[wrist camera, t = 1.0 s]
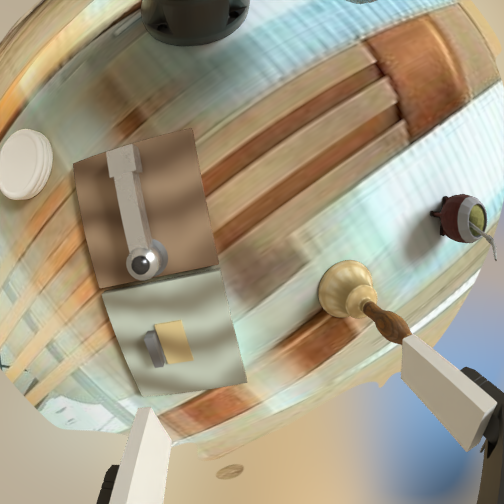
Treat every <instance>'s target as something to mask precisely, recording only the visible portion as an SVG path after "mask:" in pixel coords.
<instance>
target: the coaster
mask: <svg viewBox="0 0 504 504" xmlns="http://www.w3.org/2000/svg"><path fill="white" fill-rule="evenodd" d="M52 163H53V153H52V147H51V144H50V142H49V140H48V139H47V138H46V136H44V135H43V134H42V133H40V132H36V131H34V130H30V129H21V130H18V131H16V132H15V133H13V134H12V135H11V136H10V137H9V138H8V139H7V141H6V142H5V144H4V145H3V147H2V149H1V151H0V190H1V191H2V193H3V194H4V195H5V196H6V197H8V198H10V199H13V200H22V199H30V198H32V197H34V196H36V195H37V194H38V193H39V192H40V191H41V190H42V189H43V187H44V186H45V184H46V183H47V181H48V178H49V176H50V173H51V169H52Z"/></svg>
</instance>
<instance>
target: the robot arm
mask: <svg viewBox="0 0 504 504" xmlns="http://www.w3.org/2000/svg"><path fill="white" fill-rule="evenodd" d="M346 1H349V2H352V3H357V4H364V3H370V2H374V1H376V0H346ZM249 3H250V0H142V5H141V17H142V20H143V23H144V25H145V27H146V29H147V31H148V32H149V33H150V34H151V35H152V36H153V37H154V38H156V39H158V40H160V41H162V42H164V43H168V44H172V45H179V46H194V45H202V44H206V43H210V42H214V41H216V40H219V39H221V38H223V37H226V36H227V35H229V34H231V33H232V32H234V31H235V30H236V29H237V28H238V27H239V26H240V25H241V24H242V23H243V22H244V20H245V19H246V16H247V14H248V9H249ZM401 379H402V380H403V381H404V382H405V383H406V384H407V385H408V386H409V387H410V389H411V390H412V391H413V392H414V393H415V394H416V395H417V396H418V397H419V399H420V400H421V401H422V402H423V403H424V404H425V405H426V406H427V408H428V409H429V410H430V411H431V412H432V413H433V414H434V415H435V416H436V418H437V419H438V420H439V421H440V422H441V423H442V424H443V426H444V427H445V428H446V429H447V430H448V431H449V432H450V433H451V435H452V436H453V437H454V438H455V439H456V440H457V441H458V443H459V444H460V445H461V446H462V447H463V448H464V450H465V451H466V452H467V451H469V450H471V449H472V448H473V447H475V446H476V445H477V444H478V443H479V442H480V440H481V438H482V436H484V437H485V438H486V440H485V443H484V444H483V446H482V448H481V451H480V452H482V451H483V450H484V448H485V450H484V461H483V470H482V477H481V484H480V490H479V495H478V501H477V504H504V393H503V392H502V391H501V390H499V389H498V388H497V387H496V386H494V385H493V384H492V383H491V382H489V381H487V379H486V378H484V377H482V375H480V374H479V373H478V372H477V371H476V370H474V369H471V368H468V367H464V368H463V369H462V370H458V369H457V368H456V367H455V366H454V365H452V364H451V363H450V362H449V361H447V360H446V359H445V358H444V357H443V356H441V355H440V354H439V353H438V352H436V351H435V350H434V349H433V348H431V347H430V346H429V345H428V344H426V343H425V342H424V341H423V340H421V339H420V338H419V337H418V336H416V335H415V334H412V335H410V336H408V337H406V338H404V339H403V342H402V369H401ZM171 444H172V440H171V438H170V437H169V435H168V434H167V432H166V431H165V429H164V428H163V426H162V424H161V423H160V421H159V420H158V418H157V416H156V415H155V413H154V411H153V410H152V408H151V407H146V408H138V409H137V412H136V415H135V418H134V421H133V425H132V428H131V431H130V434H129V437H128V440H127V443H126V446H125V450H124V453H123V456H122V460H121V463H120V465H112V466H111V467H110V468H109V469H108V471H107V472H106V475H105V478H104V482H103V484H102V489H101V490H100V494H99V497H98V500H97V504H163V501H164V493H165V485H166V478H167V470H168V463H169V456H170V450H171Z"/></svg>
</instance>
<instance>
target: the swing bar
mask: <svg viewBox="0 0 504 504" xmlns="http://www.w3.org/2000/svg"><path fill="white" fill-rule="evenodd" d="M106 156H107V163H108V169H109V176H110V178H114V181H115V187H116V192H117V198H118V203H119V208H120V213H121V218H122V222H123V227H124V231H125V236H126V240H127V244H128V248H129V252H130V253H129V255H128V257H127V261H126V266H127V269H128V272H129V273H130V274H131V276H132V277H134V278H135V279H138V280H148V279H150V278H152V277H153V276H154V275H155V273H156V272H157V271H158V270H159V269H160V268H161V266H162V263H163V256H162V253H161V251H160V250H159V248H158V247H156V246H155V245H153V241H152V236H151V232H150V228H149V223H148V218H147V214H146V209H145V204H144V199H143V194H142V188H141V183H140V177H139V173H141V172H143V171H142V165H141V159H140V152H139V147H137V146H135V145H134V144H129V145H126V146H123V147H120V148H117V149H113V150H110V151H107V152H106Z"/></svg>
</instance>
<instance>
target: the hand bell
mask: <svg viewBox="0 0 504 504" xmlns="http://www.w3.org/2000/svg"><path fill="white" fill-rule="evenodd" d="M318 296H319V301H320V304H321V306H322V308H323V309H324V310H325V311H326V312H327V313H328V314H330V315H332V316H334V317H349V316H351V317H353V318H357V319H360V318H364V317H366V316H368V317H370V318H371V319H372V320H373V321H374V322H375V324H376V327H377V329H378V330H379V332H380V333H381V334H382V335H383V336H384V337H385V338H386V339H387V340H389V341H391V342H393V343H397V344H401V345H402V342H403V339H404V338H406V337H408V336H410V335H412V333H411V331H410V329H409V327H408V325H407V323H406V322H405V321H404V320H403V319H402V318H401V317H400V316H398V315H397V314H395V313H393V312H390V311H385V310H382V309H381V308H379V307H378V306H377V305H376V304H377V294H376V291H375V290H374V288H373V282H372V277H371V274H370V272H369V270H368V269H367V268H366V267H365V266H364V265H363V264H362V263H360V262H357V261H353V260H345V261H342V262H339V263H337V264H335V265H333V266H332V267H331V268H330V269H329V270H328V271H327V272H326V273H325V274H324V276H323V278H322V280H321V282H320V285H319V290H318Z"/></svg>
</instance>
